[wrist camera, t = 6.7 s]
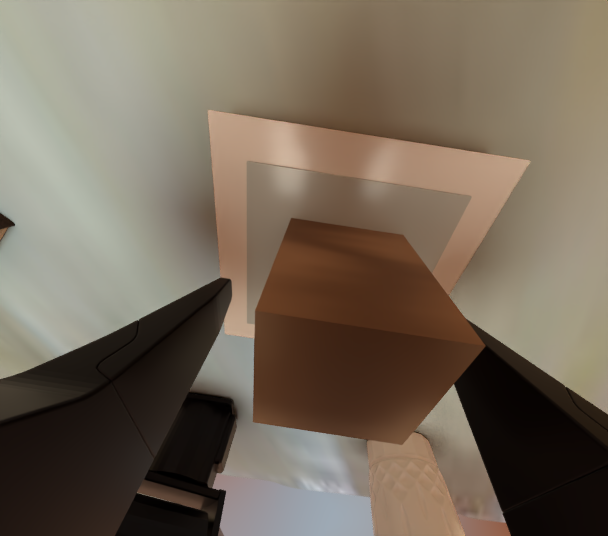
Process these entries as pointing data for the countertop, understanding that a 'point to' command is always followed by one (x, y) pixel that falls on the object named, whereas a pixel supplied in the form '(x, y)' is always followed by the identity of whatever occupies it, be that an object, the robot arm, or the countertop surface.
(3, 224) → the hardcover book
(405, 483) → the beige textured cup
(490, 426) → the robot arm
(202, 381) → the countertop surface
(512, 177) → the base
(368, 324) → the walnut block
